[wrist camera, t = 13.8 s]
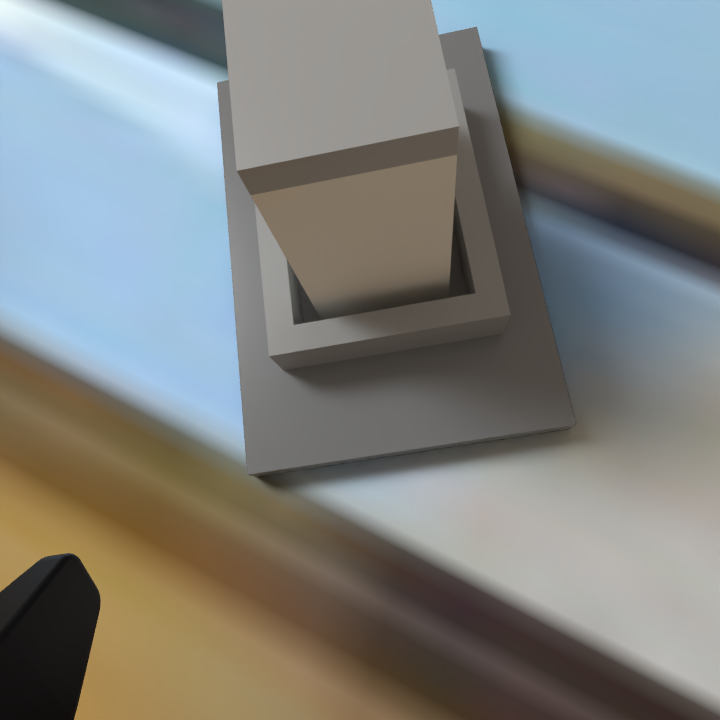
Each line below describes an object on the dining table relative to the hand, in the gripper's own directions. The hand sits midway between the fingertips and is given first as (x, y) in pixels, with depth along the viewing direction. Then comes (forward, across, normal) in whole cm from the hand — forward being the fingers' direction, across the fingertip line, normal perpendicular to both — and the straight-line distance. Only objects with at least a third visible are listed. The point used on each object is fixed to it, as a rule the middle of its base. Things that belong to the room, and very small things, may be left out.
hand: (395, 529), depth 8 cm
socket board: (+18, 0, +1) cm, 18 cm away
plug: (+17, 0, +1) cm, 17 cm away
